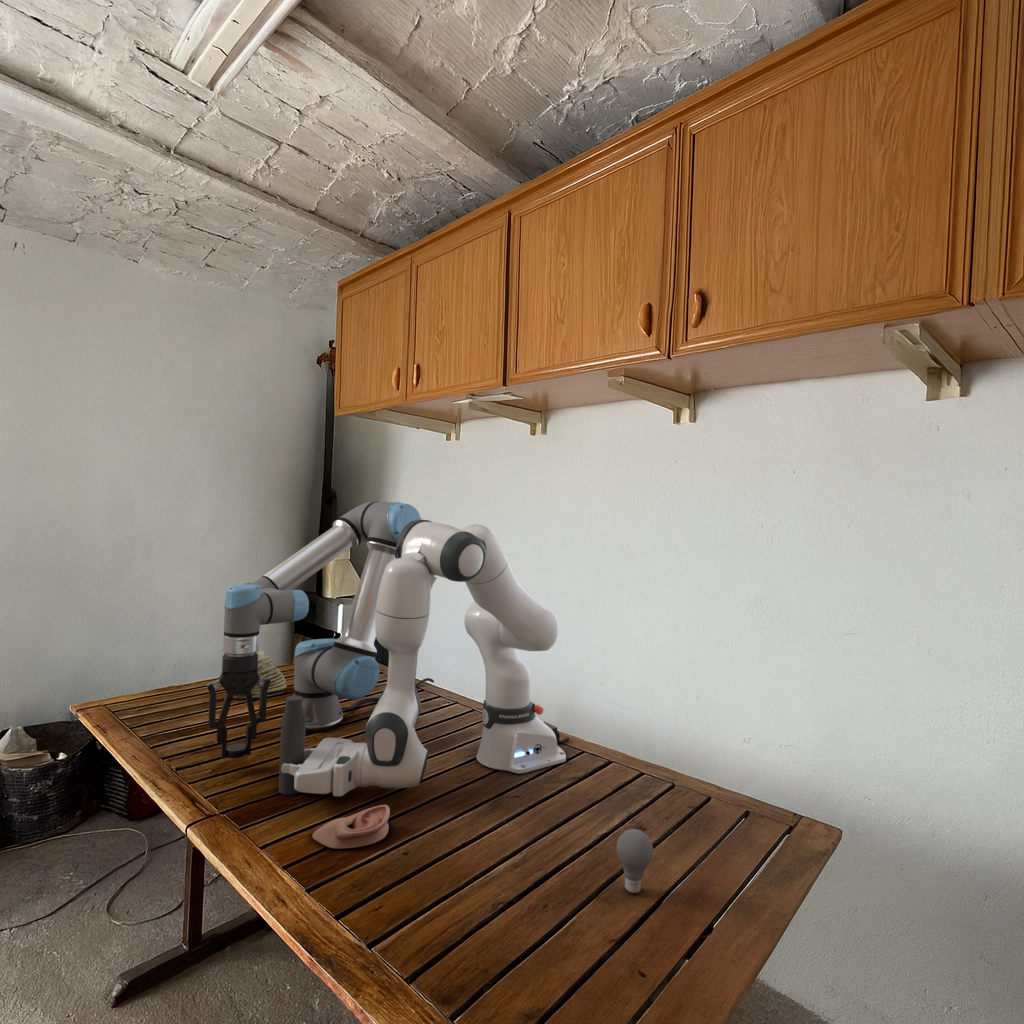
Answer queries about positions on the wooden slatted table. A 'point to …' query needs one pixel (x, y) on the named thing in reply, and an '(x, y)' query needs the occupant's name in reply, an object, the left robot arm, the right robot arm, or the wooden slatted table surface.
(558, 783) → the wooden slatted table surface
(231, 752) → the cap
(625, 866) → the light bulb
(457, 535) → the right robot arm
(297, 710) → the bottle
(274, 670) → the fossil
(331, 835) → the anatomical model
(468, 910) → the wooden slatted table surface
